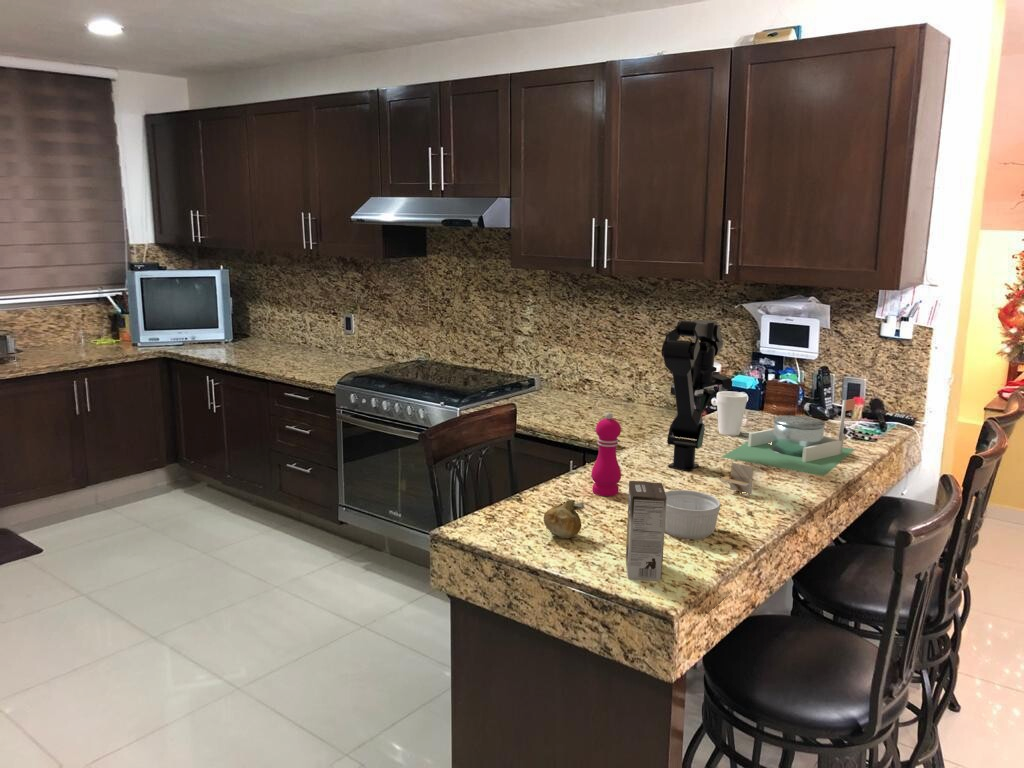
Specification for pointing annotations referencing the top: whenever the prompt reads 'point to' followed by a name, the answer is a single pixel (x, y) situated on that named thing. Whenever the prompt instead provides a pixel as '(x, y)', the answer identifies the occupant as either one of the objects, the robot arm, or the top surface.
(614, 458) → the pepper mill
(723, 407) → the foam cup
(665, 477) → the top surface
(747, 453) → the green mat
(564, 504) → the onion
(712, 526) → the ramekin
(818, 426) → the chrome metal canister
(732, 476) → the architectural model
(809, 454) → the beige thin-walled piece
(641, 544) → the coffee box
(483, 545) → the top surface
